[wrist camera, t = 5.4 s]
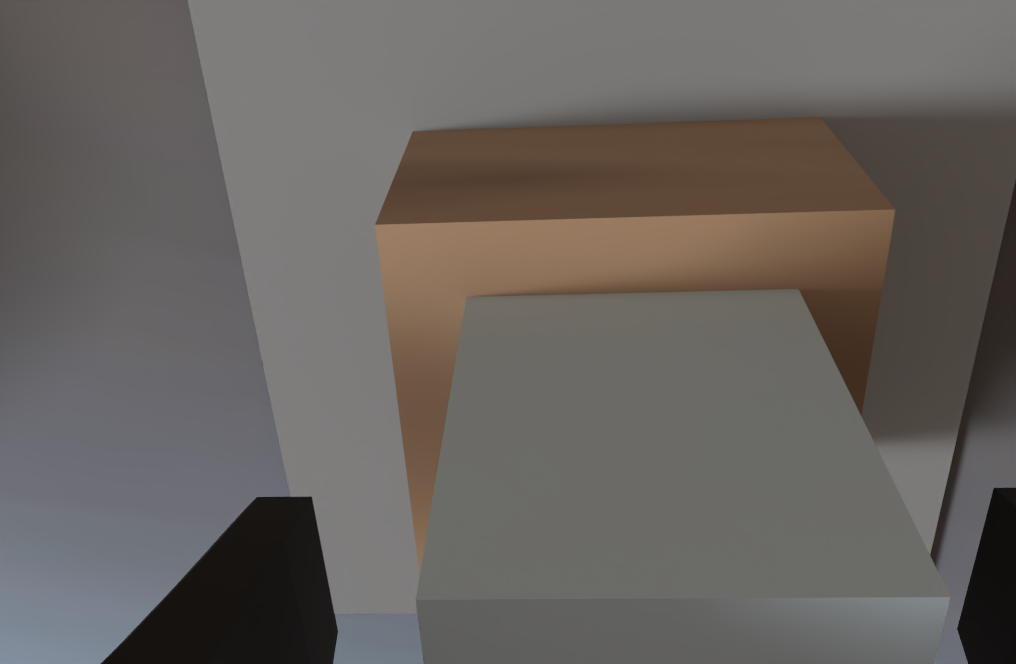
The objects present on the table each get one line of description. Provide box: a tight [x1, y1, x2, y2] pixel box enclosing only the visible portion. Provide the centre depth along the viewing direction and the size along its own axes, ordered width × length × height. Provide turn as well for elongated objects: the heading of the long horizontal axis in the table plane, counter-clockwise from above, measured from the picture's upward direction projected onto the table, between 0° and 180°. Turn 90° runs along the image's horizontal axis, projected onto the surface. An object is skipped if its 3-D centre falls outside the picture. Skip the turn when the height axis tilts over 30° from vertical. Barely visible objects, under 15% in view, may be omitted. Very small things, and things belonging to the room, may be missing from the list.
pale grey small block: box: [416, 289, 951, 664], centre depth 10 cm, size 4×4×5 cm
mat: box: [188, 0, 1016, 614], centre depth 16 cm, size 14×12×1 cm
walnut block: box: [375, 117, 895, 574], centre depth 14 cm, size 6×6×4 cm
